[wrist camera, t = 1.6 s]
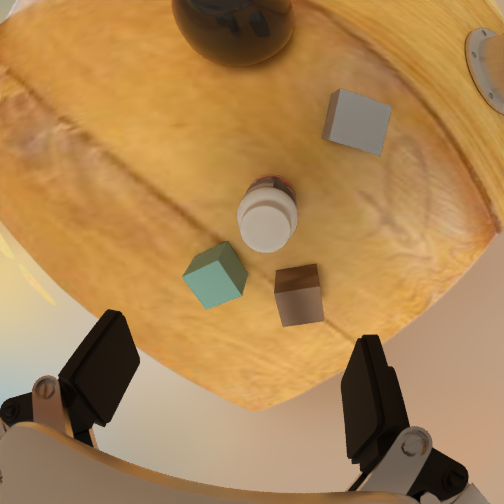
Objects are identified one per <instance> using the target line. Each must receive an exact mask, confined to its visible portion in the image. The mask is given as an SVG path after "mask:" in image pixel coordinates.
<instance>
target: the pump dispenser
mask: <svg viewBox="0 0 504 504" xmlns="http://www.w3.org/2000/svg"><path fill="white" fill-rule="evenodd" d="M171 3H172V11H173V15H174V18H175V21H176V24H177V26H178V28H179V30H180V32H181V34H182V35H183V37H184V38H185V40H186V41H187V42H188V44H189V45H190V46H191V47H192V48H193V49H194V50H195V51H196V52H197V53H198V54H199V55H201V56H202V57H204V58H205V59H207V60H209V61H211V62H214V63H217V64H221V65H226V66H246V65H251V64H255V63H258V62H261V61H264V60H266V59H268V58H270V57H271V56H273V55H275V54H276V53H277V52H278V51H280V50H281V49H282V48H283V47H284V46H285V44H286V43H287V42H288V40H289V38H290V37H291V34H292V31H293V28H294V11H293V7H292V4H291V1H290V0H171Z"/></svg>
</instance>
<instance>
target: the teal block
mask: <svg viewBox="0 0 504 504" xmlns="http://www.w3.org/2000/svg"><path fill="white" fill-rule="evenodd" d="M247 275H248V273H247V271H246V270H245V268H244V266H243V265H242V263H241V262H240V260H239V259H238V257H237V255H236V254H235V252H234V251H233V249H232V247H231V246H230V244H229V243H228V241H226V242H224V243H222V244H220V245H218V246H216V247H214V248H212V249H210V250H207V251H205V252H203V253H201V254H199V255H197V256H195V257H194V259H193V260H192V262H191V263H190V265H189V267H188V268H187V270H186V271H185V273H184V274H183V276H182V278H183V279H184V281H185V282H186V283H187V285H188V286H189V287H190V289H191V290H192V292H193V293H194V294H195V296H196V297H197V298H198V300H199V301H200V302H201V304H202V305H203V306H204V307H205V309H206V310H207V309H209V308H212V307H215V306H217V305H220V304H223V303H225V302H228V301H231V300H233V299H236V298H238V297H241V296H242V294H243V290H244V286H245V283H246V279H247Z"/></svg>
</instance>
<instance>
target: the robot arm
mask: <svg viewBox="0 0 504 504" xmlns="http://www.w3.org/2000/svg"><path fill="white" fill-rule="evenodd" d="M465 49H466V58H467V63H468V66H469V70H470V73H471V75H472V78H473V80H474V82H475V84H476V86H477V88H478V90H479V91H480V93H481V95H482V96H483V98H484V99H485V100H486V101H487V103H488V104H489V105H490V106H491V107H492V108H493V109H494V110H496V111H497V112H499V113H501V114H503V115H504V34H502V35H498V34H497V33H495V32H493V31H491V30H489V29H486V28H479V29H475V30H473V31H472V32H470V34H469V35H468V37H467V40H466V47H465ZM139 364H140V357H139V354H138V352H137V349H136V347H135V344H134V341H133V338H132V336H131V333H130V330H129V327H128V324H127V321H126V318H125V316H123V315H122V313H121V312H120V311H115V310H110V309H108V310H107V311H106V312H105V313H104V314H103V315H102V317H101V318H100V319H99V321H98V322H97V323H96V324H95V325H94V327H93V328H92V330H91V331H90V332H89V333H88V335H87V336H86V337H85V339H84V340H83V342H82V343H81V344H80V345H79V347H78V348H77V349H76V351H75V352H74V353H73V355H72V356H71V358H70V359H69V360H68V362H67V363H66V365H65V366H64V367H63V369H62V370H61V372H60V373H59V375H58V376H59V379H58V380H57V379H56V378H55V377H53V376H49V375H48V376H43V377H41V378H39V379H38V380H37V381H36V383H34V386H33V389H32V392H30V393H27V394H23V395H20V396H16V397H13V398H9V399H7V400H6V401H5V402H3V404H2V405H1V408H0V504H490V503H489V502H488V501H487V499H486V498H485V497H484V496H483V495H482V494H481V492H480V491H479V490H478V489H477V488H476V487H475V485H474V484H473V483H471V484H469V483H468V471H467V469H466V468H465V467H464V466H463V465H462V464H460V463H458V462H456V461H455V460H453V459H451V458H449V457H448V456H446V455H444V454H443V453H441V452H439V451H438V450H436V449H434V448H433V447H432V438H431V436H430V434H429V433H428V431H426V430H425V429H423V428H420V427H416V426H412V427H410V425H409V421H408V417H407V412H406V408H405V404H404V400H403V397H402V393H401V390H400V386H399V382H398V379H397V376H396V372H395V370H394V368H393V367H390V366H388V364H387V361H386V358H385V354H384V351H383V348H382V345H381V342H380V339H379V336H378V335H363V336H362V338H358V339H357V341H356V344H355V347H354V350H353V352H352V355H351V358H350V360H349V363H348V365H347V368H346V370H345V373H344V375H343V378H342V381H341V394H342V401H343V412H344V421H345V434H346V447H347V457H348V458H349V459H352V464H359V463H360V471H361V473H360V474H359V475H358V477H357V478H356V479H355V480H354V482H353V483H352V484H351V485H350V486H349V487H348V488H347V490H346V491H345V492H331V493H273V492H258V491H248V490H239V489H232V488H224V487H219V486H213V485H208V484H203V483H198V482H193V481H189V480H185V479H180V478H177V477H173V476H169V475H166V474H162V473H159V472H155V471H152V470H149V469H146V468H143V467H140V466H137V465H134V464H132V463H129V462H126V461H124V460H121V459H119V458H116V457H114V456H111V455H109V454H107V453H104V452H102V451H100V450H99V449H98V446H97V443H96V440H95V436H94V433H93V429H92V426H93V424H94V423H95V424H98V425H100V426H102V427H105V426H106V423H109V422H110V421H111V419H112V417H113V415H114V413H115V411H116V409H117V407H118V405H119V403H120V401H121V399H122V397H123V395H124V393H125V391H126V389H127V387H128V385H129V383H130V381H131V379H132V378H133V376H134V374H135V372H136V370H137V368H138V366H139Z"/></svg>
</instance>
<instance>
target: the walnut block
mask: <svg viewBox="0 0 504 504" xmlns="http://www.w3.org/2000/svg"><path fill="white" fill-rule="evenodd" d="M274 295H275V299H276V303H277V307H278V310H279V314H280V318H281V322H282V326H283V327H286V326H294V325H301V324H308V323H314V322H321V321H324V313H323V305H322V298H321V291H320V284H319V278H318V272H317V266H316V264H312V265H306V266H300V267H294V268H288V269H282V270H276V278H275V290H274Z"/></svg>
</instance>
